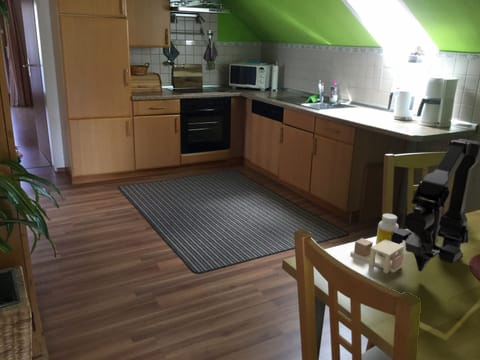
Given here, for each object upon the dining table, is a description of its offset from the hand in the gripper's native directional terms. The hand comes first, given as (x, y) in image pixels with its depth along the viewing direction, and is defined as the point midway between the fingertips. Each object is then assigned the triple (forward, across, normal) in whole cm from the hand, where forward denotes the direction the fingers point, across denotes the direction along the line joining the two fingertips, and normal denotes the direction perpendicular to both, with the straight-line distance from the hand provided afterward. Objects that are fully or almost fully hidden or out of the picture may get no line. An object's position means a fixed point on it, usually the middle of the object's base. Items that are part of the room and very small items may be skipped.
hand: (420, 270), depth 131 cm
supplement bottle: (+4, -17, +11) cm, 21 cm away
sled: (+3, -15, 0) cm, 15 cm away
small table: (+4, -7, 0) cm, 8 cm away
